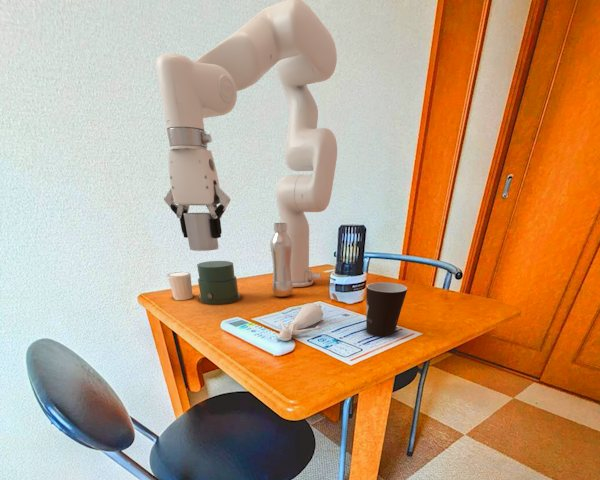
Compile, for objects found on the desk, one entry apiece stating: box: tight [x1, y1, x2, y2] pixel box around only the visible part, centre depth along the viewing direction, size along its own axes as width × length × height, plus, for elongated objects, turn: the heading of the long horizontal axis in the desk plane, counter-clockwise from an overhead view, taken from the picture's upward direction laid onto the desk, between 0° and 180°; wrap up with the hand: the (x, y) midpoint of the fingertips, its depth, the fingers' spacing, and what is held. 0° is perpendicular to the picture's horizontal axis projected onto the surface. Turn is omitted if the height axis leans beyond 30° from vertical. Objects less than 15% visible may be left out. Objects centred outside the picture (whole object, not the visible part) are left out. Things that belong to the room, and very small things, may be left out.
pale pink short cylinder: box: [166, 271, 194, 301], centre depth 95 cm, size 7×7×7 cm
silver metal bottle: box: [269, 222, 294, 298], centre depth 92 cm, size 6×7×20 cm
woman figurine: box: [277, 302, 324, 342], centre depth 73 cm, size 12×4×18 cm
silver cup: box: [184, 212, 219, 252], centre depth 74 cm, size 7×7×8 cm
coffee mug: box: [365, 281, 408, 338], centre depth 71 cm, size 12×9×10 cm
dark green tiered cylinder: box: [196, 260, 241, 306], centre depth 93 cm, size 12×12×10 cm
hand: (202, 236), depth 75 cm, fingers closed on silver cup, 6 cm apart
